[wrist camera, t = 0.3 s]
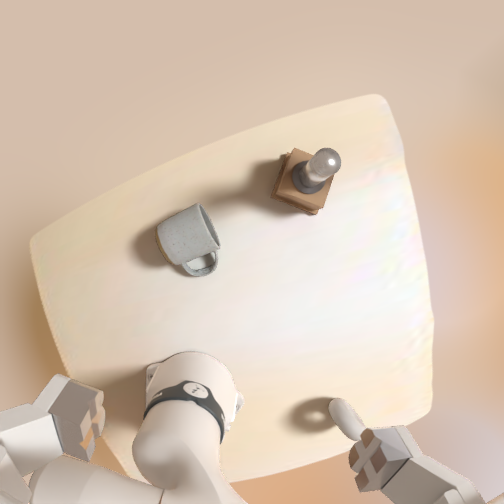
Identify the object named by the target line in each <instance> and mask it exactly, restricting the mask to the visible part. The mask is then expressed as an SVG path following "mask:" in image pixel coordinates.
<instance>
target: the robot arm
mask: <svg viewBox="0 0 504 504" xmlns="http://www.w3.org/2000/svg"><path fill="white" fill-rule="evenodd" d="M151 375H153V377H152V376H151ZM103 401H104V395H103V391H101V390H99V389H96V388H94V387H91V386H89V385H86V384H83V383H81V382H78V381H76V380H74V379H71V378H68V377H66V376H63V375H61V374H56V375H54V376H53V378H52V379H51V380H50V382H49V383H48V384H47V385H46V387H45V388H44V389H43V390H42V392H41V393H40V394H39V396H38V397H37V398H36V400H35V401H34V402H33V404H32V405H31V404H29V403H26V404H23V405H20V406H17V407H13V408H10V409H7V410H4V411H1V412H0V504H28V503H30V504H248V503H247V502H246V501H244V500H243V499H242V498H241V497H240V496H239V495H238V494H237V493H236V492H235V491H234V489H233V488H232V487H231V486H230V484H229V483H228V481H227V480H226V478H225V477H224V475H223V473H222V470H221V467H220V444H221V443H222V442H223V440H224V437H225V431H229V429H230V427H231V425H230V422H233V421H234V418H235V416H236V414H237V413H238V412H239V410H240V409H241V408H242V406H243V405H244V402H245V398H244V397H243V395H242V394H241V393H240V392H239V391H238V390H237V388H236V386H235V383H234V380H233V377H232V375H231V373H230V372H229V370H228V369H227V368H226V367H225V366H224V365H223V364H222V363H221V362H220V361H218V360H217V359H215V358H213V357H211V356H209V355H207V354H203V353H199V352H183V353H179V354H176V355H174V356H172V357H170V358H169V359H167V360H166V361H164V362H162V363H155V364H151V365H149V366H148V368H147V371H146V411H145V413H144V419H143V420H144V421H143V423H142V425H141V427H140V429H139V431H138V433H137V435H136V437H135V439H134V441H133V445H132V455H133V459H134V461H135V464H136V466H137V468H138V469H139V471H140V473H141V474H142V476H143V477H144V478H145V479H146V480H147V481H148V482H149V483H151V484H152V485H153V486H152V485H149V484H146V483H144V482H141V481H138V480H135V479H132V478H130V477H127V476H124V475H122V474H120V473H117V472H115V471H112V470H110V469H107V468H105V467H103V466H99V465H95V464H92V463H88V462H89V461H90V458H91V456H92V454H93V452H94V449H95V447H96V446H95V441H94V439H96V438H98V437H100V436H101V433H102V431H103V427H104V423H105V409H104V408H103V407H102V403H103ZM236 405H237V406H236ZM360 438H361V440H360V441H358V442H357V443H355V444H354V445H353V447H352V448H351V450H350V454H349V464H350V467H351V469H352V470H354V471H355V472H356V473H357V474H356V476H355V481H356V483H357V486H358V489H359V491H360V492H368V491H375V490H381V492H382V493H384V494H385V495H386V496H387V497H388V498H389V499H390V500H391V501H392V502H393V503H395V504H504V493H502V494H501V495H499V496H497V497H496V498H494V499H493V500H491V501H489V502H487V503H485V502H484V500H483V498H482V497H481V495H480V493H479V492H478V490H477V489H476V487H475V486H474V484H473V482H472V481H471V480H469V479H467V478H465V477H464V476H462V475H460V474H458V473H457V472H455V471H453V470H451V469H450V468H448V467H446V466H444V465H443V464H441V463H439V462H438V461H436V460H434V459H433V458H431V457H429V456H428V455H423V453H422V452H421V450H420V448H419V447H418V445H417V443H416V442H415V440H414V438H413V437H412V435H411V434H410V432H409V430H408V429H407V427H405V426H404V425H401V426H392V427H377V428H367V429H365V430H364V431H363V432H362V433H361V435H360ZM63 452H64V453H66V454H69V455H71V456H74V457H76V458H79V459H82V460H85V461H87V462H85V461H81V460H78V459H75V458H71V457H68V456H65V455H62V454H63ZM33 471H34V473H33V474H32V476H31V479H30V482H29V487H28V486H27V484H26V483H25V481H24V479H23V478H22V477H24V476H26V475H28V474H29V473H31V472H33ZM162 496H163V497H162Z"/></svg>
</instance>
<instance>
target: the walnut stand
mask: <svg viewBox="0 0 504 504" xmlns="http://www.w3.org/2000/svg"><path fill="white" fill-rule="evenodd" d="M313 156H314V155H311V154H309V153H306V152H304V151H301V150H299V149H296V148H294V149H293V151H292V153H291V154H290V153H288V152H287V154H286V157H285V160H284V162H283V165H282V168H281V171H280V173H279V176H278V179H277V182H276V184H275V187H274V190H273V192H272V195H271V198H274V199H276V200H279V201H282V202H284V203H287V204H289V205H292V206H295V207H297V208H300V209H302V210H305V211H307V212H310V213H312V214H315V215H316V214H317V213H318V210H319V209H321V208H323V207H324V204H325V201H326V198H327V195H328V192H329V189H330V186H331V183H332V180H333V177H334V174H333V175H331V176H330V177H328V178H327V179H325V180H324V181H322V182H321V183H319V184H318V185H316V186H315V187H311V188H309V187H305V186H304V185H302V184H301V182H300V180H299V172H300V171H301V169H302V168H303V167H304V166H305V165H306V164H307V163H308V162H309V160H310V159H311V158H312V157H313Z"/></svg>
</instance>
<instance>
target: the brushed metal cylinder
mask: <svg viewBox="0 0 504 504" xmlns="http://www.w3.org/2000/svg"><path fill="white" fill-rule="evenodd" d="M340 167H341V159H340V156H339V154H338V153H337V152H336V151H335V150H333V149H331V148H322V149H320V150H319V151H318V152H317V153H316V154H315V155H314V156H313V157H312V158H311V159H310V160H309V162H308V163H307V164H306V165H305V166H304V167H303V168H302V169H301V171H300V172H299V180H300V182H301V184H302V185H304V186H305V187H309V188H311V187H315V186H316V185H318V184H319V183H321V182H322V181H324V180H325V179H327V178H328V177H330V176H331V175H333V174H335V173H336V172H337V171H338V170H339V169H340Z"/></svg>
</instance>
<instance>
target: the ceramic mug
mask: <svg viewBox="0 0 504 504" xmlns="http://www.w3.org/2000/svg"><path fill="white" fill-rule="evenodd" d="M155 237H156V241H157V244H158V247H159V249H160V251H161V253H162V254H163V256H164V257H165V259H166V260H167V261H168V262H169V263H170V264H173V265H180V264H182V266H183V268H184V269H185V270H186V272H188V273H189V274H191V275H193V276H198V277H199V276H206V275H208V274H210V273H212V272H213V271H214V270H215V269H216V267H217V264H218V254H217V250H218V249H220V242H219V239H218V236H217V233H216V231H215V228H214V226H213V224H212V222H211V220H210V218H209V216H208V214H207V212H206V210H205V209H204V207H203V206H202V205H201V204H200V203H197V204H195V205H193V206H191V207H189V208H187V209H185V210H183V211H181V212H179V213H178V214H176V215H174V216H172V217H170V218H168V219H166V220H165V221H163V222H162V223H161V224H159V225H158V226H157V228H156V230H155ZM210 252H214V253H215V262H214V264H213V265H212V266H210V267H207V268H204V269H199V270H193V269H191V268H190V267H189V266H188V265H187V264H186V262H189V261H191V260H193V259H195V258H198V257H200V256H203V255H206V254H208V253H210Z"/></svg>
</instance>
